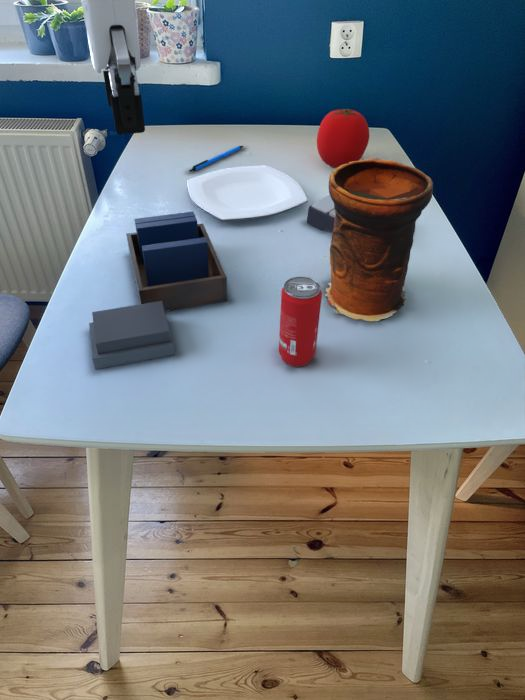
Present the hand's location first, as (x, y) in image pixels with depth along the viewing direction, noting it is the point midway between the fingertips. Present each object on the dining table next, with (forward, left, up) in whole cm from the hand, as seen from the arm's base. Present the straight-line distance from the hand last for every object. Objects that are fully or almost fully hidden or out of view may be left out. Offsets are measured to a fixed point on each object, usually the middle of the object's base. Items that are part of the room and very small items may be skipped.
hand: (125, 118), depth 64 cm
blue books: (+5, +15, -29) cm, 32 cm away
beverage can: (+18, -15, -29) cm, 38 cm away
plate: (+24, +34, -29) cm, 51 cm away
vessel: (+33, -4, -29) cm, 44 cm away
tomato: (+50, +45, -29) cm, 73 cm away
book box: (+5, +9, -29) cm, 31 cm away
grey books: (-4, -6, -29) cm, 30 cm away
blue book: (+5, +7, -29) cm, 30 cm away
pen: (+23, +55, -29) cm, 66 cm away
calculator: (+41, +17, -29) cm, 53 cm away
